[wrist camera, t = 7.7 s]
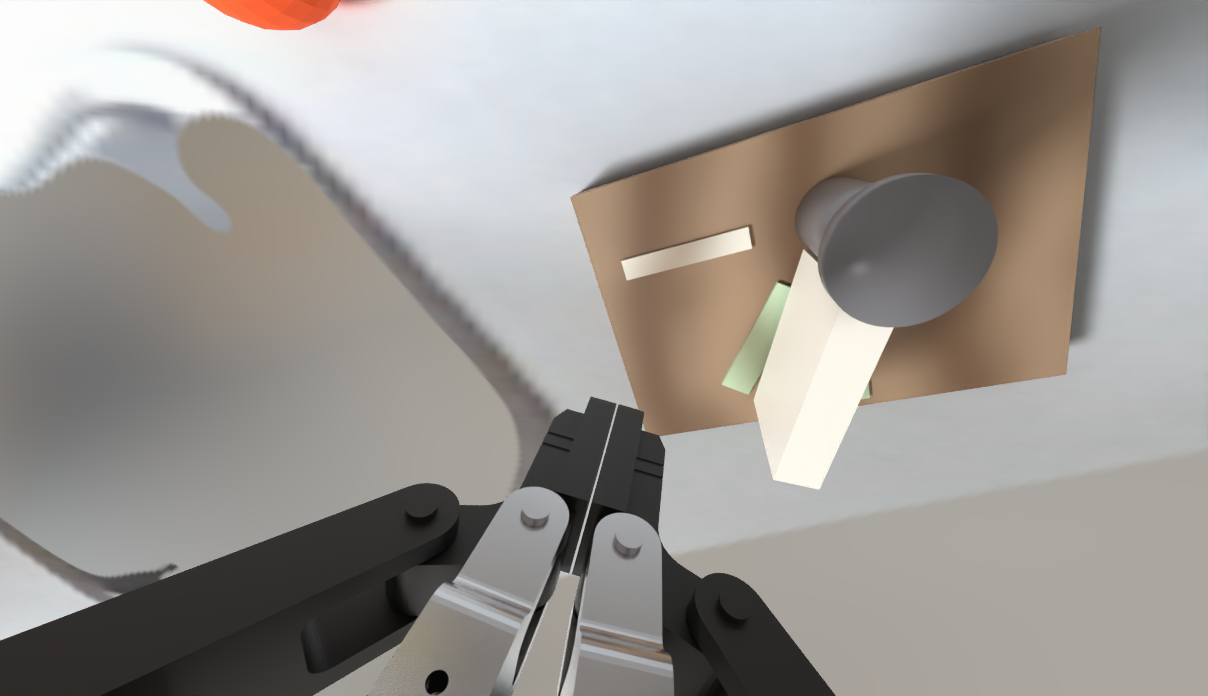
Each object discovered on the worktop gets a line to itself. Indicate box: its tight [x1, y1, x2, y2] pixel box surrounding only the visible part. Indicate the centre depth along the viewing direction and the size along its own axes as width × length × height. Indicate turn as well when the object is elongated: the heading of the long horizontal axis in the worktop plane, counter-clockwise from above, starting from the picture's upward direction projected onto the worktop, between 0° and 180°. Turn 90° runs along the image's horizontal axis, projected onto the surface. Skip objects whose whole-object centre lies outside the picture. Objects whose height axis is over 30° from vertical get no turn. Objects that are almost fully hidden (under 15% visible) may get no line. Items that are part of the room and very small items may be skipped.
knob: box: [754, 172, 998, 489], centre depth 18 cm, size 12×4×7 cm, turn 172°
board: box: [570, 27, 1101, 436], centre depth 21 cm, size 20×14×2 cm
